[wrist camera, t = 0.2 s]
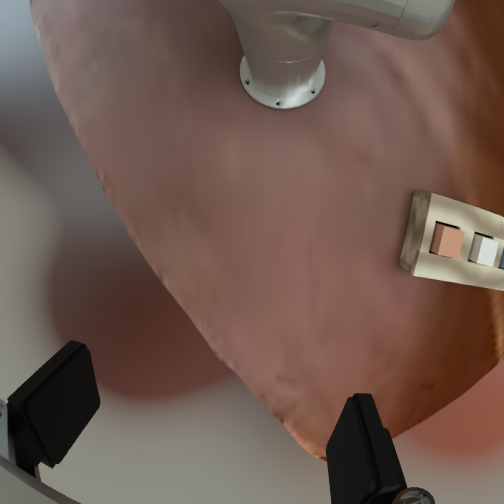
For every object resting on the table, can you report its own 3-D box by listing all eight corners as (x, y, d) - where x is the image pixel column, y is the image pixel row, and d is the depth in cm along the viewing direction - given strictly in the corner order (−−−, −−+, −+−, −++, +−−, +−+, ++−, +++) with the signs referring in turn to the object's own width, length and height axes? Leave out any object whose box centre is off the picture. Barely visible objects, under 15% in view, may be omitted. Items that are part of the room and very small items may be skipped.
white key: (469, 231, 37) (483, 237, 33) (485, 236, 37) (499, 241, 33) (463, 256, 38) (476, 263, 34) (479, 259, 38) (492, 266, 34)
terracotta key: (431, 221, 38) (444, 226, 34) (451, 226, 37) (464, 231, 34) (425, 247, 39) (437, 254, 35) (445, 252, 39) (458, 259, 35)
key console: (414, 190, 41) (431, 192, 35) (509, 221, 39) (529, 227, 34) (398, 263, 44) (413, 275, 38) (495, 281, 43) (512, 292, 37)
